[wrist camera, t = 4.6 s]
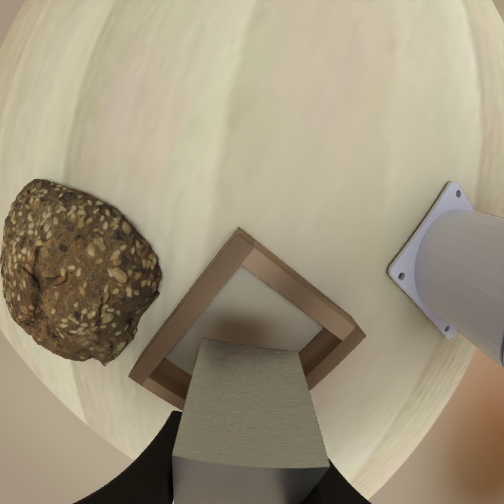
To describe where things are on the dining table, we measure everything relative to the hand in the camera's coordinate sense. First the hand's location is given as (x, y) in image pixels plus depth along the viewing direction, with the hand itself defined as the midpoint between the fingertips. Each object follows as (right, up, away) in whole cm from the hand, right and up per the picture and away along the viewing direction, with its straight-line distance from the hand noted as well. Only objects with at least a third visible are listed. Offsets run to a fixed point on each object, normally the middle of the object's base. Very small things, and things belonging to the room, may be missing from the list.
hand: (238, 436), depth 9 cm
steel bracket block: (0, +1, +2) cm, 2 cm away
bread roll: (-12, +5, +7) cm, 15 cm away
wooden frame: (0, +2, +8) cm, 8 cm away
